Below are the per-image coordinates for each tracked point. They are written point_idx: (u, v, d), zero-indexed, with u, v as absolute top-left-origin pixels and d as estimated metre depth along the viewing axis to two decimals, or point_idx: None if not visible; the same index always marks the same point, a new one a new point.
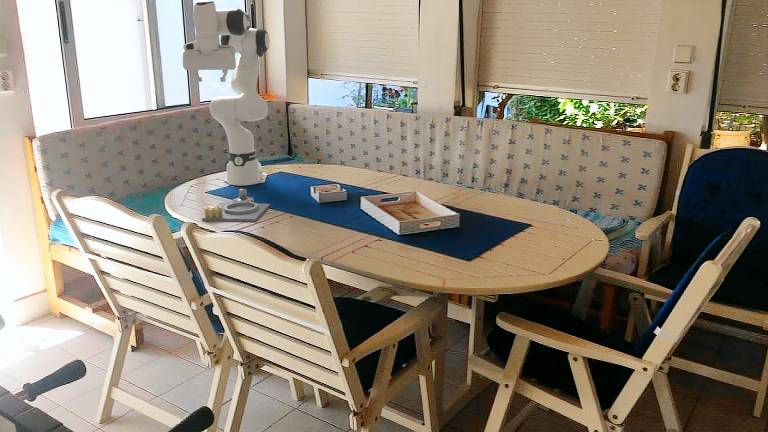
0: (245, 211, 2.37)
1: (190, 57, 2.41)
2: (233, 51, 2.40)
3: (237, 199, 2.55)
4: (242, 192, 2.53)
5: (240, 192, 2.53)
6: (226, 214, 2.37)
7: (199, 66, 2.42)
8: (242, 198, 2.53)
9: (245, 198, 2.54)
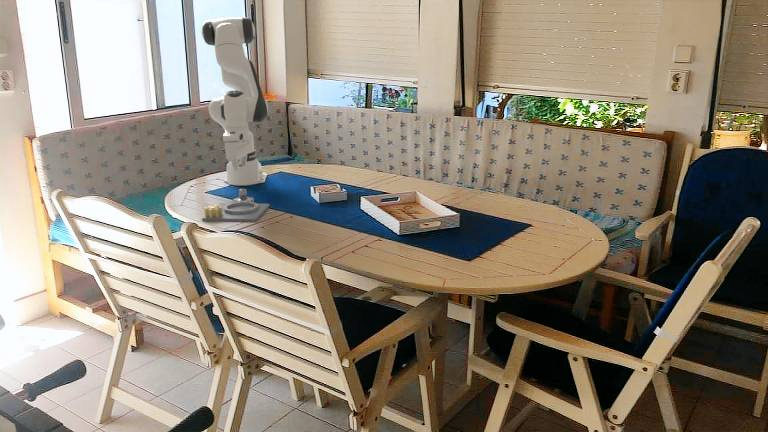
0: (245, 211, 2.37)
1: (236, 147, 2.41)
2: None
3: (237, 199, 2.55)
4: (242, 192, 2.53)
5: (240, 192, 2.53)
6: (226, 214, 2.37)
7: (241, 155, 2.45)
8: (242, 198, 2.53)
9: (245, 198, 2.54)
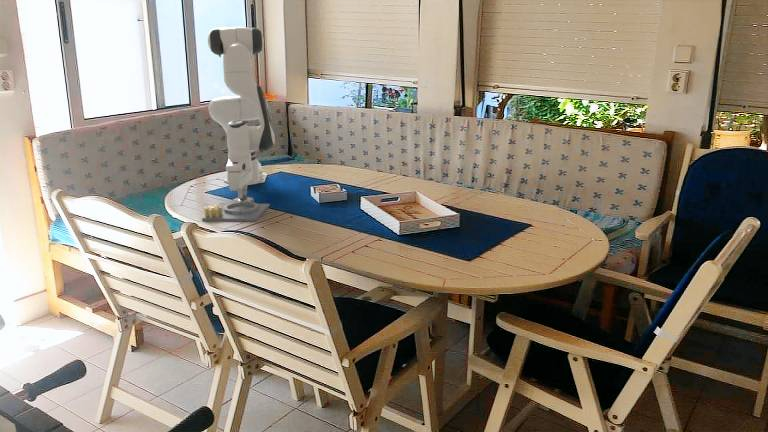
0: (245, 211, 2.37)
1: None
2: None
3: (237, 199, 2.54)
4: None
5: None
6: (226, 214, 2.37)
7: (243, 183, 2.49)
8: (242, 198, 2.53)
9: (245, 198, 2.54)
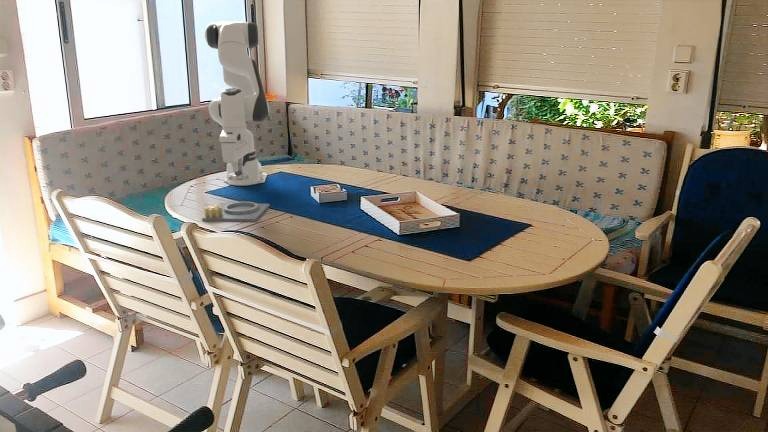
0: (245, 211, 2.37)
1: None
2: None
3: (232, 174, 2.38)
4: None
5: None
6: (226, 214, 2.37)
7: (238, 156, 2.33)
8: (237, 173, 2.37)
9: (240, 173, 2.38)
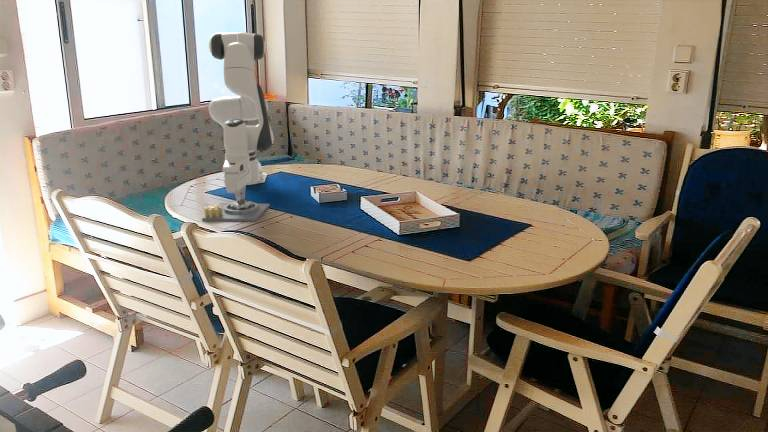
0: (245, 211, 2.37)
1: None
2: None
3: (235, 203, 2.42)
4: None
5: None
6: (226, 214, 2.37)
7: (241, 185, 2.36)
8: (240, 202, 2.41)
9: (243, 202, 2.41)
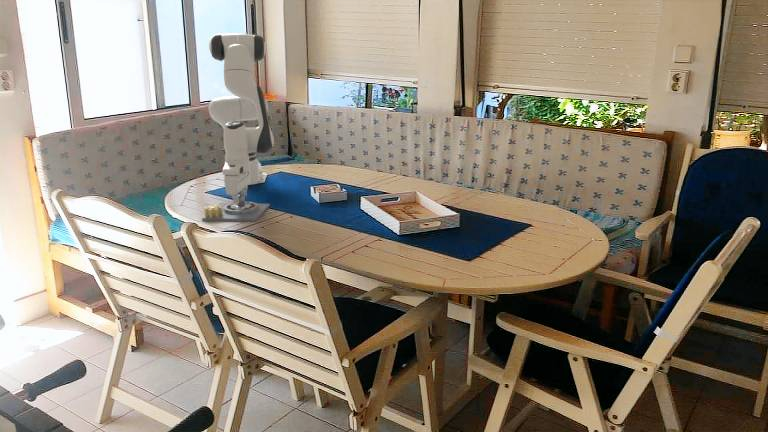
0: (245, 211, 2.37)
1: None
2: None
3: (235, 205, 2.42)
4: (240, 197, 2.40)
5: (238, 198, 2.40)
6: (226, 214, 2.37)
7: (241, 188, 2.37)
8: (240, 204, 2.41)
9: (243, 204, 2.42)
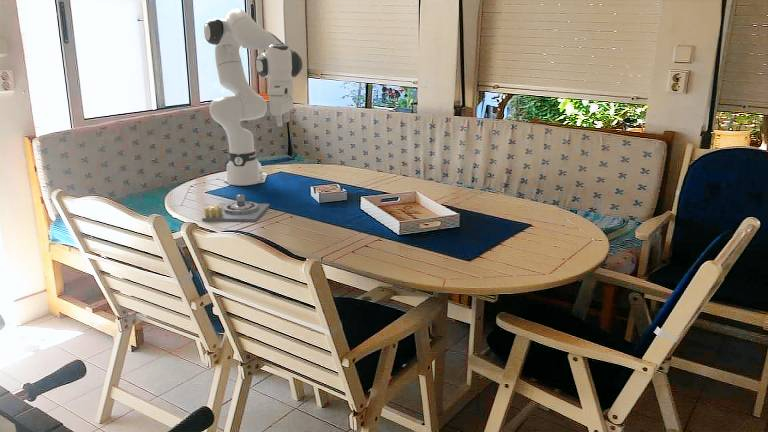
0: (245, 211, 2.37)
1: None
2: None
3: (235, 205, 2.42)
4: (240, 197, 2.40)
5: (238, 198, 2.40)
6: (226, 214, 2.37)
7: (284, 110, 2.41)
8: (240, 204, 2.41)
9: (243, 204, 2.42)
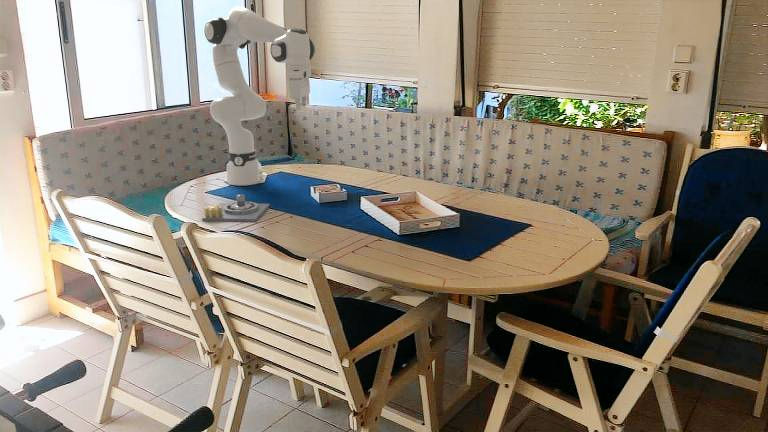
0: (245, 211, 2.37)
1: None
2: None
3: (235, 205, 2.42)
4: (240, 197, 2.40)
5: (238, 198, 2.40)
6: (226, 214, 2.37)
7: (303, 93, 2.44)
8: (240, 204, 2.41)
9: (243, 204, 2.42)
